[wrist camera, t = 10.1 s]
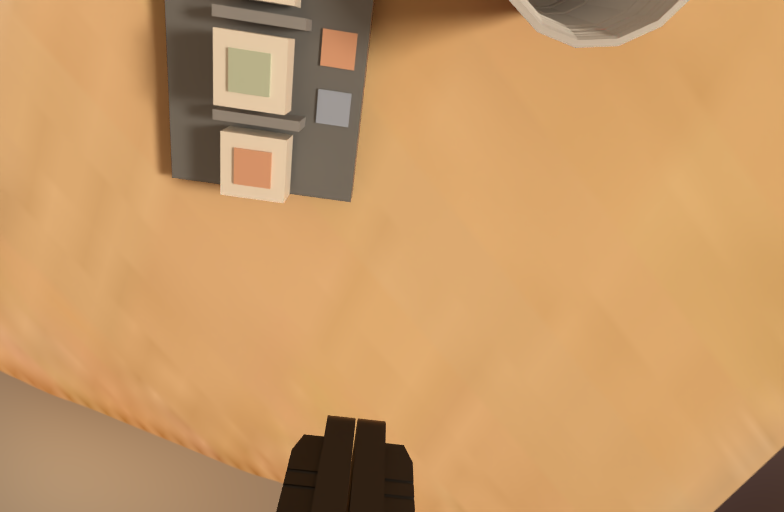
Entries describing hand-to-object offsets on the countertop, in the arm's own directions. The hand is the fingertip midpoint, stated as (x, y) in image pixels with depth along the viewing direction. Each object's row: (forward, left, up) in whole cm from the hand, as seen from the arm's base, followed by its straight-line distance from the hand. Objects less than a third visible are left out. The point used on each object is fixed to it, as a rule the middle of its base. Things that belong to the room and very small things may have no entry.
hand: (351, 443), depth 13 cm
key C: (0, -9, -28) cm, 30 cm away
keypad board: (-6, -9, -29) cm, 31 cm away
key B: (-7, -9, -27) cm, 29 cm away
